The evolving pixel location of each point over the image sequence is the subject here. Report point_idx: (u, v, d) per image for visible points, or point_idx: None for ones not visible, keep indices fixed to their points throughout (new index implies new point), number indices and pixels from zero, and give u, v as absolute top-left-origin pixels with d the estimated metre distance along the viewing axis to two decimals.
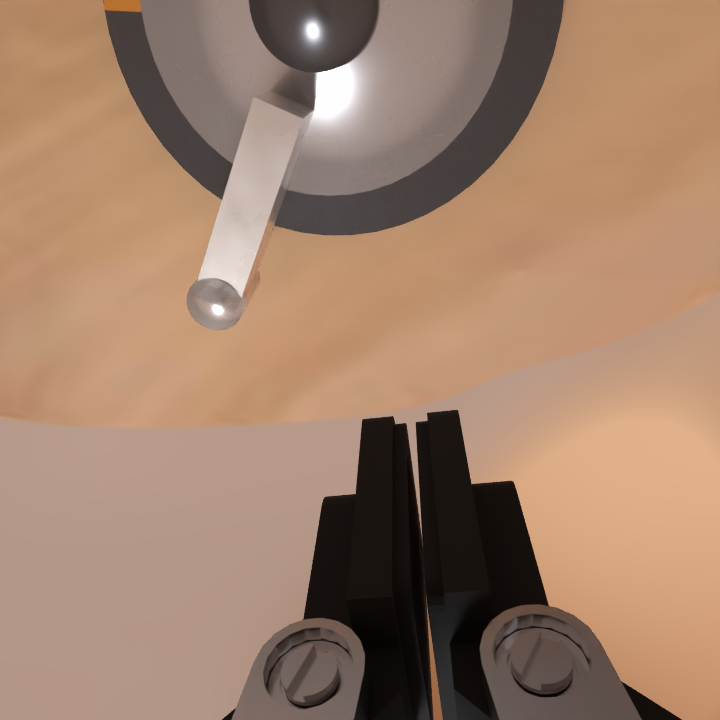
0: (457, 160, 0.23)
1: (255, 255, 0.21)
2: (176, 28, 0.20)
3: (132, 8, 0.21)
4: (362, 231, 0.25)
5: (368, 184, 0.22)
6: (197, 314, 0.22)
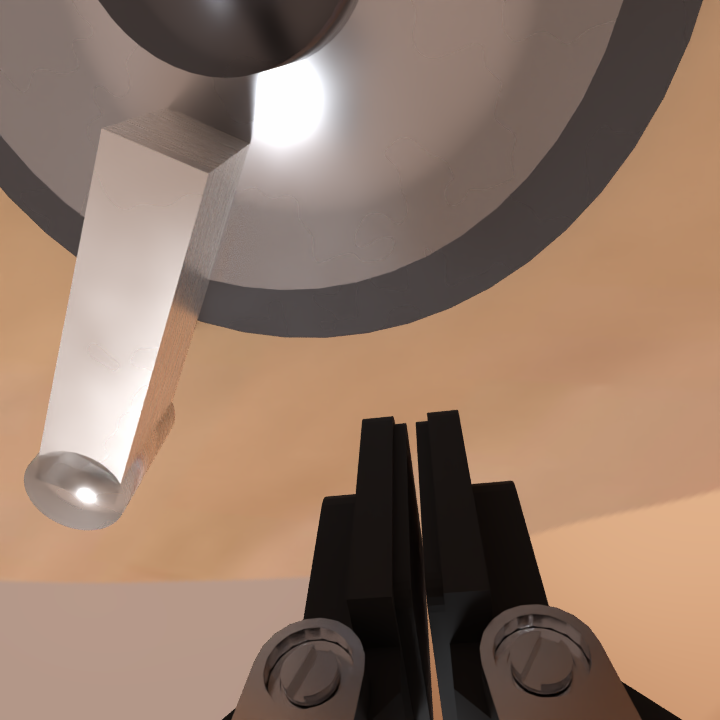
0: (507, 222, 0.14)
1: (139, 416, 0.11)
2: None
3: None
4: (345, 332, 0.15)
5: (351, 271, 0.12)
6: (47, 506, 0.12)
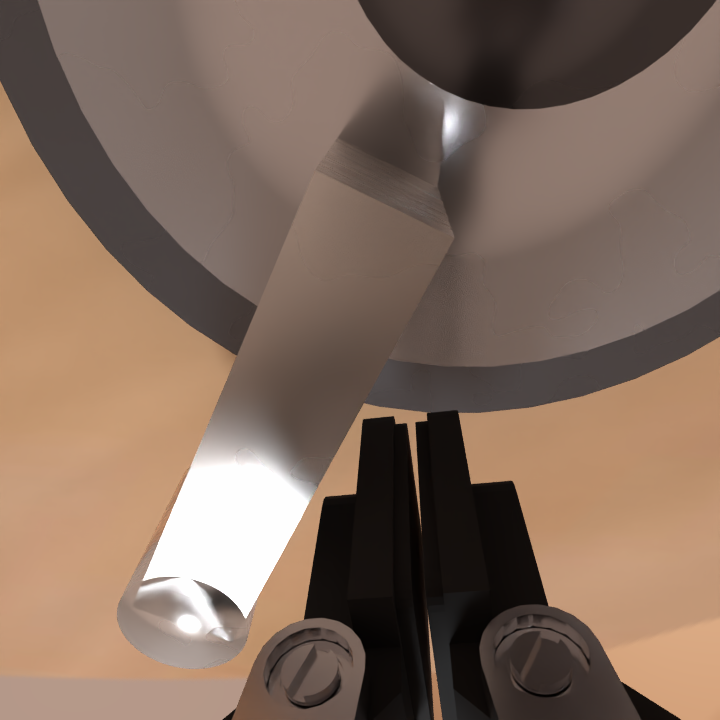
0: None
1: (286, 539, 0.08)
2: None
3: None
4: (502, 407, 0.13)
5: (536, 348, 0.10)
6: (142, 639, 0.09)
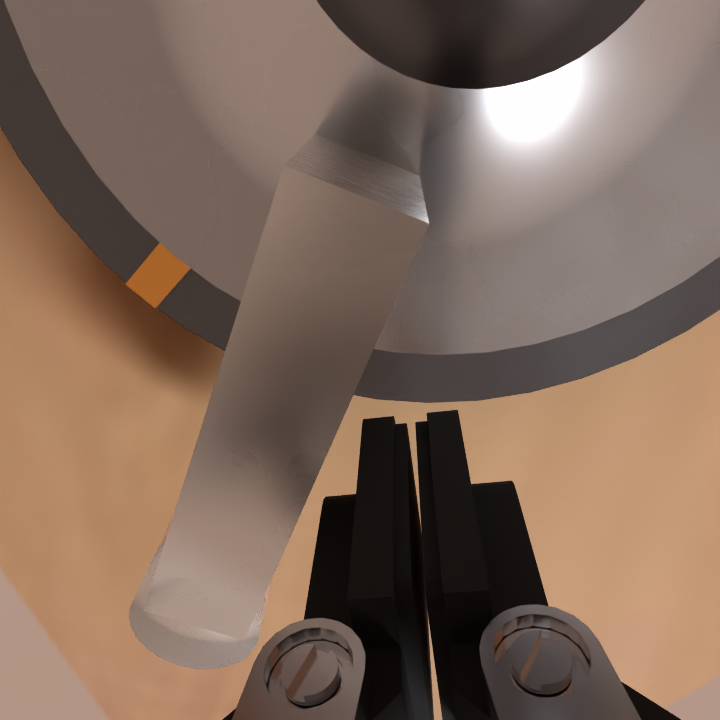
0: None
1: (288, 535, 0.08)
2: None
3: (182, 269, 0.11)
4: None
5: (532, 331, 0.10)
6: (156, 642, 0.10)
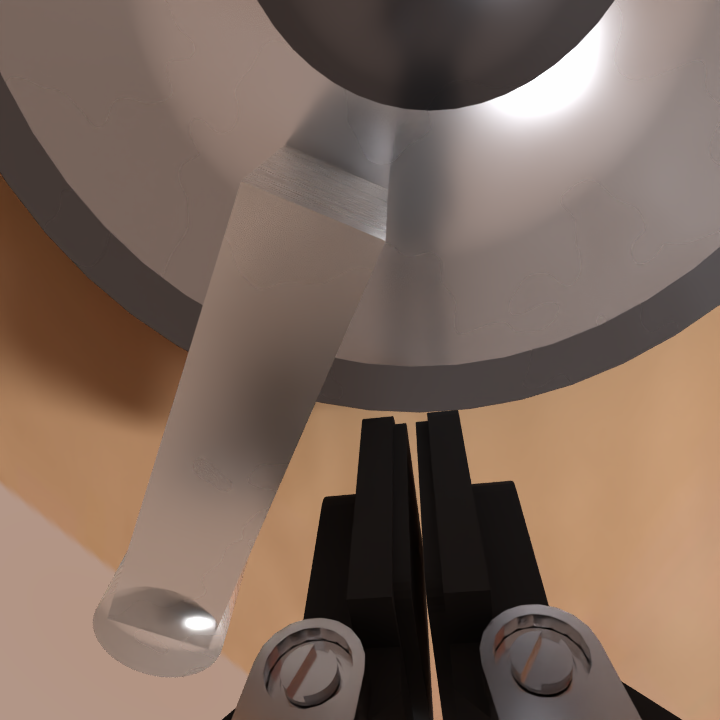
0: None
1: (251, 546, 0.08)
2: None
3: None
4: None
5: (501, 344, 0.10)
6: (120, 650, 0.10)
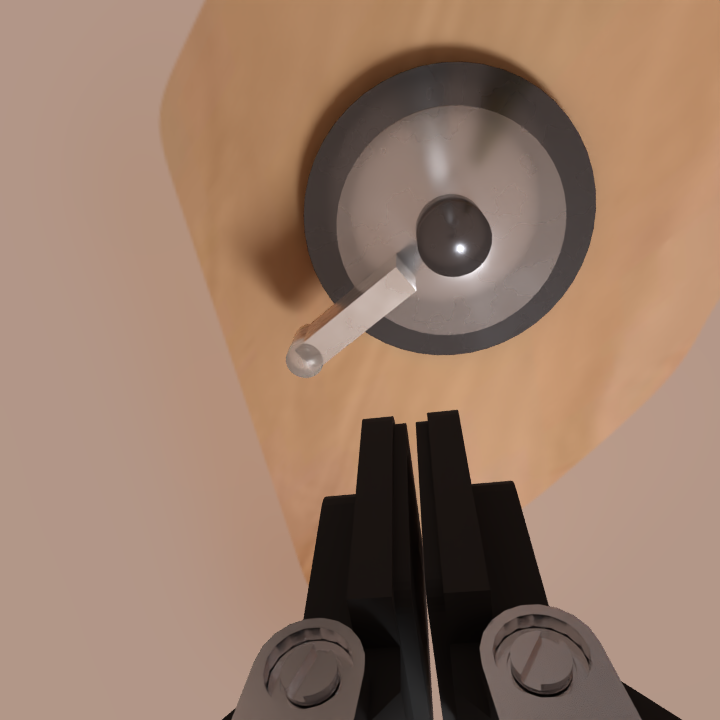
0: (574, 224, 0.33)
1: (346, 345, 0.32)
2: (361, 196, 0.32)
3: None
4: (553, 304, 0.35)
5: (423, 328, 0.34)
6: (290, 361, 0.33)
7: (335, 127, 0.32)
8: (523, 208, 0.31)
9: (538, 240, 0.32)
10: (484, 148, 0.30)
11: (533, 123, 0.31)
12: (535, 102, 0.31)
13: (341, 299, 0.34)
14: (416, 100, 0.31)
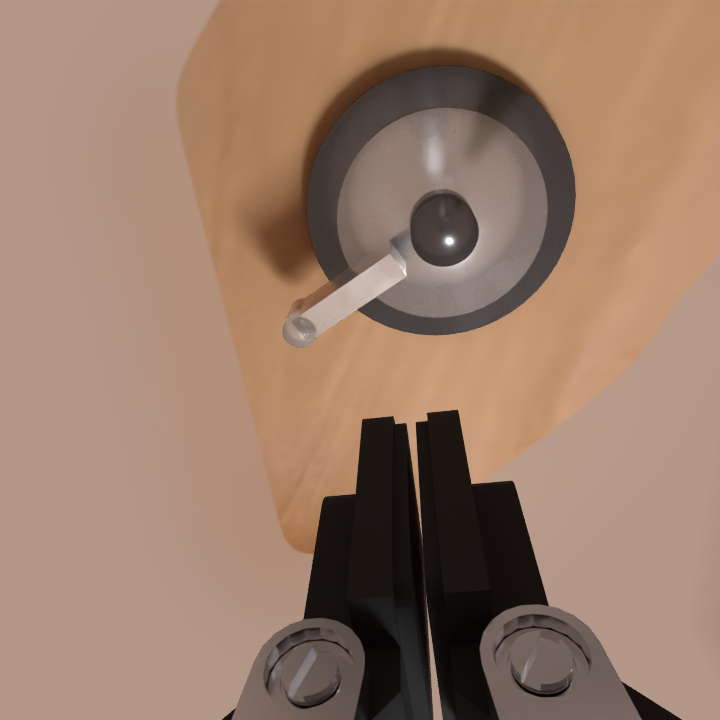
0: (554, 225, 0.37)
1: (338, 321, 0.35)
2: (362, 184, 0.34)
3: None
4: (529, 296, 0.39)
5: (409, 310, 0.38)
6: (286, 331, 0.36)
7: (343, 117, 0.34)
8: (509, 207, 0.34)
9: (520, 238, 0.35)
10: (478, 150, 0.33)
11: (524, 129, 0.34)
12: (528, 110, 0.34)
13: (336, 277, 0.37)
14: (419, 99, 0.34)
